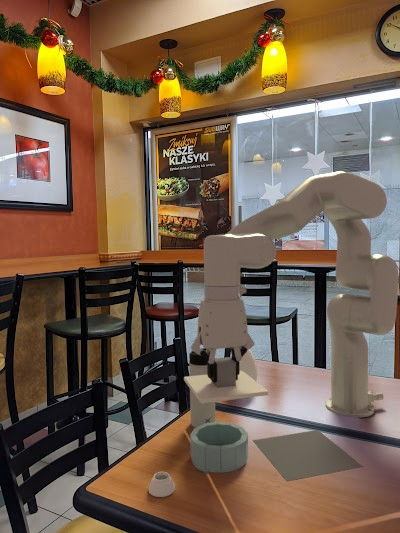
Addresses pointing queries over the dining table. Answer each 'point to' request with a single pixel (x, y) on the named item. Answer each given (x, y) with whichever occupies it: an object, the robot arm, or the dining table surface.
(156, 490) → the lidless jar
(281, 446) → the mat
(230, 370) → the square lid
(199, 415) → the travel mug
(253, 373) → the white pear-shaped vessel
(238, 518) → the dining table surface
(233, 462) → the bowl
